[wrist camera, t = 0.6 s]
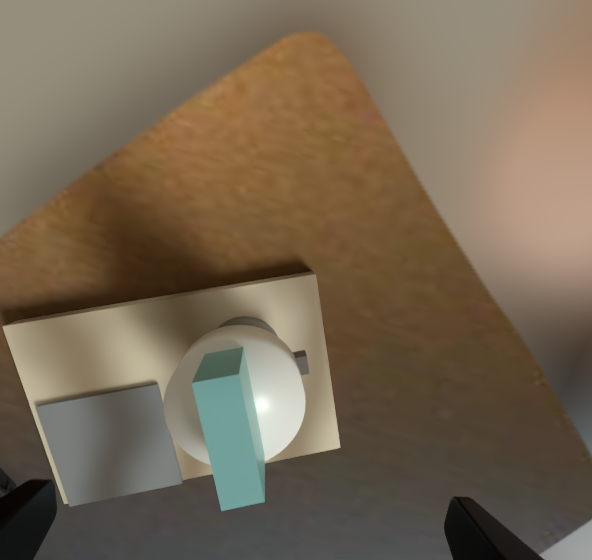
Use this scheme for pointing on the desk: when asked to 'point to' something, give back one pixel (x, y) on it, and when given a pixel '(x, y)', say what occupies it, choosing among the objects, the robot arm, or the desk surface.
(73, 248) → the desk surface
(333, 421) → the board
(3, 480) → the usb stick
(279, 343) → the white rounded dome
